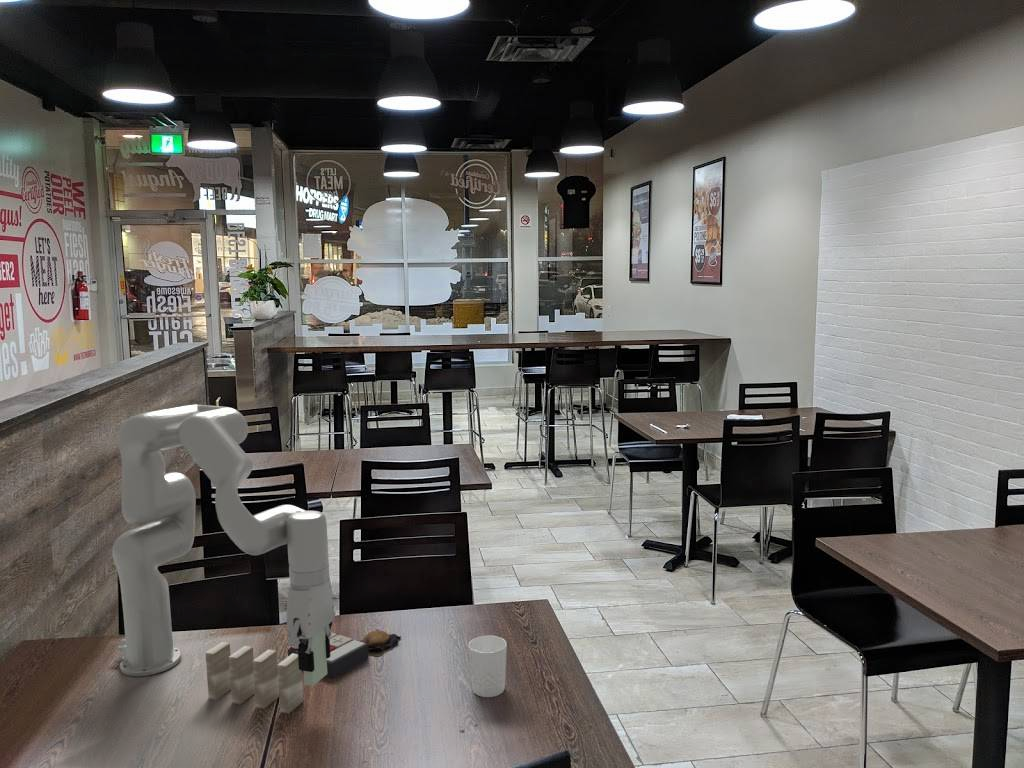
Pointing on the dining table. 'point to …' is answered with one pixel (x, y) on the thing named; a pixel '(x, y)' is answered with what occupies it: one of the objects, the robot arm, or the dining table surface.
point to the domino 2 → (242, 674)
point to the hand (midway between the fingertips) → (314, 662)
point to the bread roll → (380, 642)
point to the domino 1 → (218, 670)
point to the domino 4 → (290, 684)
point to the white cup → (488, 665)
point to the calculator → (342, 654)
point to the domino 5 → (317, 659)
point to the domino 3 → (266, 679)
